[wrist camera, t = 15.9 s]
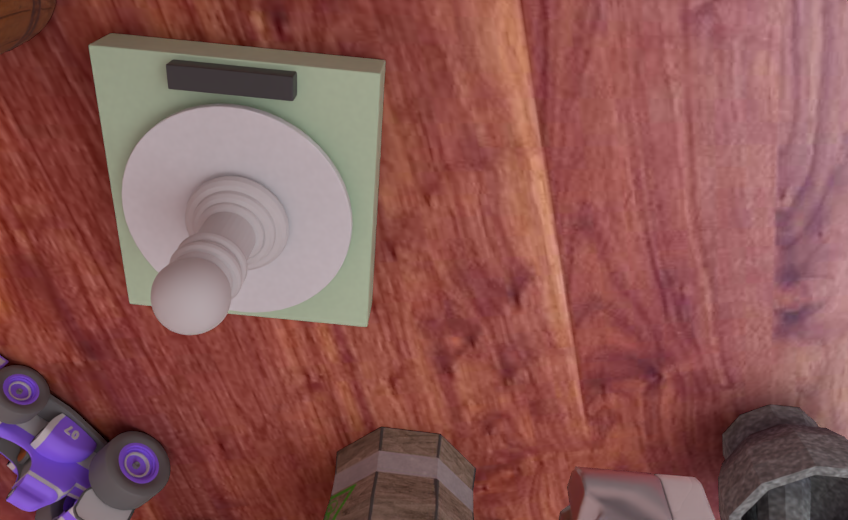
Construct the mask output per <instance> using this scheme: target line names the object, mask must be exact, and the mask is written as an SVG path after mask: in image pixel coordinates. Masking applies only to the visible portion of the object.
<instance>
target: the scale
mask: <svg viewBox="0 0 848 520" xmlns="http://www.w3.org/2000/svg"><path fill="white" fill-rule="evenodd" d="M88 47H89V53H90V59H91V65H92V72H93V78H94V84H95V90H96V97H97V103H98V109H99V115H100V122H101V128H102V134H103V141H104V147H105V153H106V159H107V166H108V172H109V178H110V184H111V191H112V197H113V203H114V209H115V216H116V222H117V228H118V234H119V241H120V247H121V253H122V259H123V266H124V272H125V278H126V285H127V291H128V297H129V303H130V304H137V305H147V306H152V305H151V288H152V285H153V282H154V280H155V278H156V276H157V275H158V273H159V272H160V271H161V270H162V269H163V268H164V267H166V266H167V265H168V264H169V262H170V259H171V256H172V255H173V253H174V252H175V251H176V250H177V249H178V247H179V245H180V244H181V242H182V241H183V240H185V239H186V238H187V237H189V234H188V232H187V228H186V224H185V212H186V207H187V203H188V201H189V198H190V197H191V195H192V194H193V192H194V191H195V190H196V189H197V188H198V187H199V186H201V185H202V184H204V183H205V182H207V181H210V180H212V179H215V178H218V177H223V176H238V177H244V178H248V179H250V180H253V181H255V182H257V183H259V184H261V185H263V186H264V187H266V188H267V189H268V190H270V191H271V192H272V193H273V194H274V195H275V196H276V197H277V198H278V200H279V201H280V202H281V204H282V206H283V207H284V210H285V212H286V215H287V218H288V224H289V236H288V241H287V244H286V246H285V248H284V250H283V251H282V253H281V254H280V255H279V256H278V257H277V258H276V259H275V260H273V261H272V262H271V263H269V264H268V265H266V266H264V267H261V268H258V269H254V270H248V271H247V276H246V279H245V281H244V283H243V284H242V286H241V289H240V291H239V293H238V294H237V295H236V296H235V297H234V298H233V299H232V300H231V305H230V308H229V311H228V314H238V315H248V316H258V317H269V318H279V319H289V320H299V321H309V322H319V323H330V324H340V325H350V326H360V327H367V326H368V321H369V316H370V311H371V306H372V294H373V276H374V259H375V241H376V223H377V205H378V188H379V170H380V152H381V135H382V117H383V99H384V81H385V64H386V61H385V60H379V59H369V58H359V57H349V56H339V55H328V54H318V53H308V52H298V51H288V50H278V49H268V48H257V47H247V46H237V45H227V44H217V43H207V42H197V41H187V40H176V39H166V38H156V37H146V36H136V35H126V34H116V33H110V34H108V35H106V36H104V37H103V38H101V39H99V40H97V41H95V42H93V43H91V44H89V46H88Z"/></svg>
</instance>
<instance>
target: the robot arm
mask: <svg viewBox="0 0 848 520" xmlns="http://www.w3.org/2000/svg"><path fill="white" fill-rule="evenodd" d="M567 490H568V496H569V503H570V505H569V506H567V507H566V508H565V509H563V510H562V511H561V512H560V516H559V520H715V518H714V515H713V512H712V510H711V507H710V505H709V502H708V499H707V497H706V494H705V491H704V489H703V486H702V484H701V483H700V482H699V481H698V480H697V479H696V478H695V477H687V476H676V475H664V474H654V475H653V474H651V473H644V472H632V471H621V470H609V469H598V468H586V467H575V468H574V470H573V471H572V473H571V476H570V479H569V483H568V486H567Z"/></svg>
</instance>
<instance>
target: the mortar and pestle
mask: <svg viewBox="0 0 848 520" xmlns="http://www.w3.org/2000/svg"><path fill="white" fill-rule="evenodd" d="M722 436H723V456H724V458H725V461H724V462H723V463H722V466H721V470H720V474H719V477H718V491H719V512H720V518H721V520H848V440H847V439H846V438H845V437H843V436H841V435H839V434H837V433H835V432H833V431H831V430H829V429H827V428H821V427H818V425H817V423H816V422H815V421H814V420H813V419H811V418H810V417H809V416H808V415H807V414H806V413H805V412H803V411H802V410H801V409H800V408H798V407H788V406H778V405H767V406H764V407H761V408H759V409H756V410H753V411H750V412H747V413H745V414H742V415H740V416H739V417H738V418H737V419H736V420H735V421H734V422H733V423H732V425H731V426H730V427H729V428H728V429H727V430H726V431H725V432H724V433H723V434H722Z"/></svg>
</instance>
